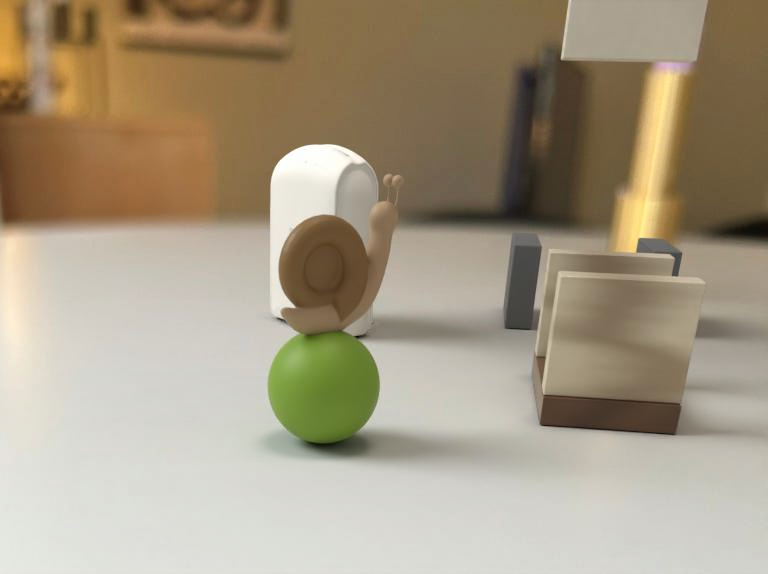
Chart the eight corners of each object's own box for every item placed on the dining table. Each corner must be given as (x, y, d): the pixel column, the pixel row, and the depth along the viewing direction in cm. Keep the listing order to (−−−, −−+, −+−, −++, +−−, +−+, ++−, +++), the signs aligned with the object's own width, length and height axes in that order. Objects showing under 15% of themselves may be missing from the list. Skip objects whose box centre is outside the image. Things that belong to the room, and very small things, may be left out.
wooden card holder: (645, 380, 62) (669, 253, 59) (676, 434, 52) (708, 283, 48) (531, 373, 63) (548, 248, 60) (539, 424, 53) (560, 276, 49)
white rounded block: (261, 316, 79) (263, 141, 73) (308, 312, 80) (313, 141, 75) (329, 341, 71) (337, 147, 65) (379, 336, 73) (391, 147, 67)
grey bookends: (649, 316, 83) (664, 238, 80) (666, 337, 75) (683, 252, 72) (503, 308, 84) (512, 232, 82) (504, 327, 77) (514, 244, 74)
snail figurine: (414, 445, 49) (436, 178, 44) (305, 464, 46) (314, 179, 40) (350, 418, 53) (363, 170, 48) (246, 434, 50) (247, 171, 44)
